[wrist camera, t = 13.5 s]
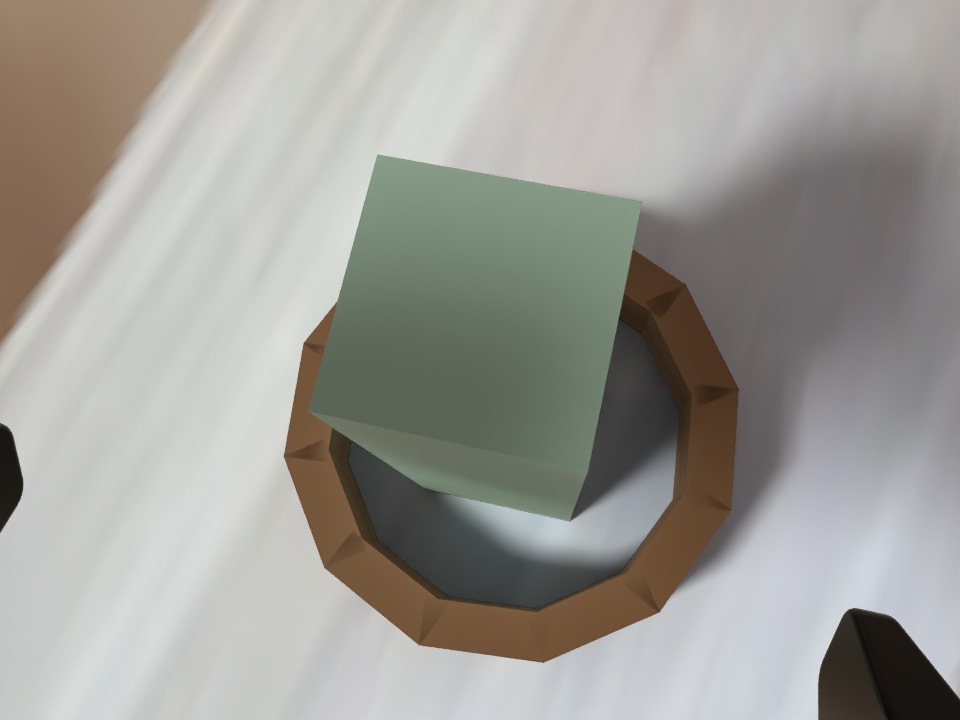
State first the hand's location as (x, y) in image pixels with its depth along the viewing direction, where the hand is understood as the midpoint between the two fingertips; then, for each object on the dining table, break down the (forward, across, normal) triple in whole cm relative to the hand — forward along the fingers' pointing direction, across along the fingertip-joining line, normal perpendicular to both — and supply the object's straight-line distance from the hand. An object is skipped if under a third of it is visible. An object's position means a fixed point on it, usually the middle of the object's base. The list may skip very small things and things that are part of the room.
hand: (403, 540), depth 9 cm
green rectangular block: (+11, 0, +7) cm, 13 cm away
